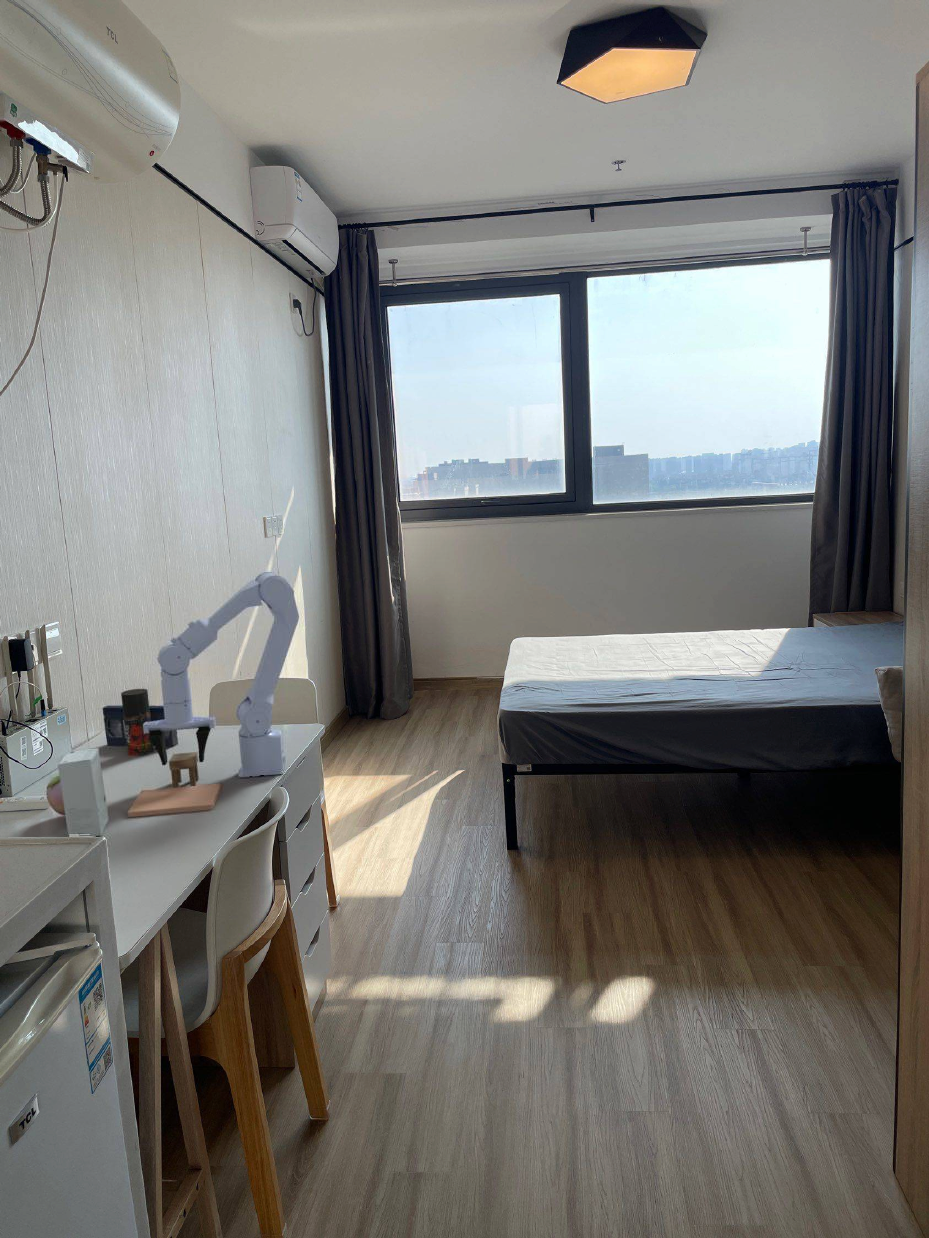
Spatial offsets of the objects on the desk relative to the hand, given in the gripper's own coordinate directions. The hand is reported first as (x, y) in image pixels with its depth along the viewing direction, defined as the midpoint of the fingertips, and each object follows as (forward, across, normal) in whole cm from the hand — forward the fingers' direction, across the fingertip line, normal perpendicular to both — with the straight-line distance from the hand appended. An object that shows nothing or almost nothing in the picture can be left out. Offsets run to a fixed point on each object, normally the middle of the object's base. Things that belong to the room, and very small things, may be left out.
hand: (183, 762), depth 186 cm
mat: (+5, 0, +11) cm, 12 cm away
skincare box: (+5, +14, +22) cm, 27 cm away
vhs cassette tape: (+5, +16, -32) cm, 36 cm away
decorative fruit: (+5, +19, +14) cm, 24 cm away
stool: (+5, 0, 0) cm, 5 cm away
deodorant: (+5, +15, -26) cm, 30 cm away
